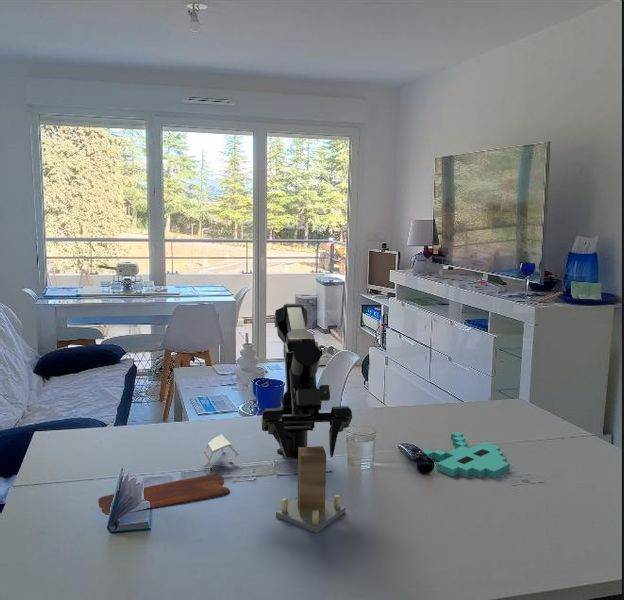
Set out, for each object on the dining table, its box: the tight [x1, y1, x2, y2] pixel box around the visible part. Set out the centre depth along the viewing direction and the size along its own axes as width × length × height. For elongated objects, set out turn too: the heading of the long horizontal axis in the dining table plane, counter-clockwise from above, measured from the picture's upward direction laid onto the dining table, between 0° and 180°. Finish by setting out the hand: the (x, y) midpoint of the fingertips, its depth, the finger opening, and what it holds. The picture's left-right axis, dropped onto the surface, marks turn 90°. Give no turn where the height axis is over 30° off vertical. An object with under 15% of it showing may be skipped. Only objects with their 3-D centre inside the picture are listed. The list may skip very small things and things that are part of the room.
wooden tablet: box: [98, 473, 231, 516], centre depth 128 cm, size 27×10×2 cm, turn 114°
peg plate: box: [275, 494, 346, 534], centre depth 121 cm, size 10×10×4 cm
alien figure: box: [422, 431, 511, 480], centre depth 148 cm, size 20×2×20 cm
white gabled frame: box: [202, 433, 240, 469], centre depth 145 cm, size 12×8×5 cm
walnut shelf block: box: [297, 445, 327, 515], centre depth 120 cm, size 4×5×12 cm
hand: (309, 457), depth 123 cm, fingers open, 9 cm apart
